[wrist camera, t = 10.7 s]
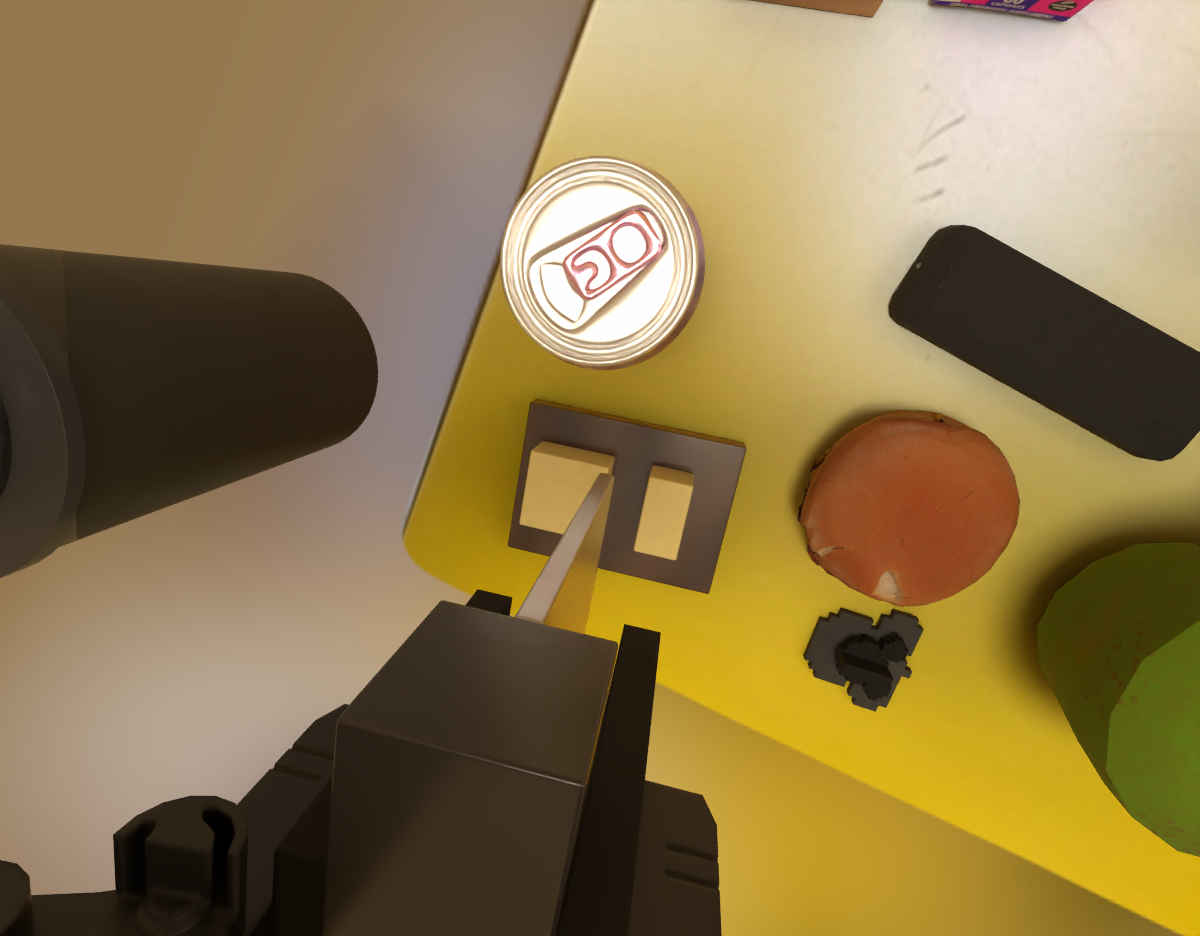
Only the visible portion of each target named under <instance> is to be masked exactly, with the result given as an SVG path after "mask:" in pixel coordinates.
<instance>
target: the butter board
mask: <svg viewBox="0 0 1200 936" xmlns="http://www.w3.org/2000/svg"><path fill="white" fill-rule="evenodd" d="M542 441H546V442H551V443H555V444H560V445H564V446H569V447H574V448H578V449H583V450H587V451H592V452H596V453H601V454H606V455H610V456H614V457H615V461H614V466H613V471H612V475H614V476H615V479H614V484H613V489H612V495H611V500H610V505H609V510H608V515H607V521H606V526H605V531H604V536H603V541H602V547H601V552H600V557H599V562H598V568H601V569H605V570H609V571H613V572H618V573H622V574H626V575H630V576H634V577H639V578H643V579H647V580H651V581H655V582H660V583H664V584H668V585H672V586H677V587H681V588H685V589H689V590H693V591H698V592H702V593H706V594H709V592H710V588H711V584H712V580H713V576H714V572H715V568H716V564H717V561H718V557H719V553H720V549H721V545H722V541H723V537H724V533H725V530H726V526H727V522H728V518H729V514H730V510H731V506H732V502H733V499H734V495H735V491H736V487H737V483H738V479H739V475H740V471H741V468H742V464H743V460H744V456H745V452H746V446H745V444H744V443H741V442H736V441H731V440H727V439H722V438H717V437H712V436H708V435H703V434H698V433H694V432H689V431H684V430H679V429H675V428H670V427H665V426H661V425H656V424H651V423H647V422H642V421H637V420H632V419H628V418H623V417H618V416H614V415H609V414H604V413H599V412H595V411H590V410H585V409H581V408H576V407H571V406H566V405H562V404H557V403H552V402H548V401H543V400H538V399H535V400H534V401H532V402H530V407H529V414H528V420H527V426H526V433H525V439H524V446H523V452H522V458H521V465H520V471H519V477H518V484H517V490H516V497H515V503H514V509H513V516H512V522H511V529H510V535H509V541H508V547H512V548H516V549H520V550H525V551H529V552H533V553H537V554H542V555H546V556H551V555H552V553H553V551H554V550H555V548H556V546H557V544H558V543H559V541H560V539H561V538H562V536H563V534H559V533H555V532H551V531H547V530H542V529H538V528H534V527H529V526H525V525H521V524H520V523H519V522H520V516H521V510H522V504H523V497H524V491H525V485H526V479H527V472H528V466H529V460H530V454H531V451H532V450H533V449H534V448H535V447H536V446H538V445H539V444H540V443H541V442H542ZM653 465H656V466H660V467H665V468H670V469H674V470H679V471H683V472H688V473H692V474H693V475H694V479H693V491H692V496H691V500H690V504H689V508H688V512H687V517H686V521H685V525H684V529H683V533H682V538H681V542H680V546H679V550H678V554H677V559H676V560H671V559H667V558H663V557H658V556H654V555H650V554H645V553H641V552H637V551H634V545H635V540H636V535H637V531H638V526H639V522H640V517H641V512H642V508H643V503H644V498H645V494H646V489H647V485H648V480H649V476H650V472H651V469H652V466H653Z"/></svg>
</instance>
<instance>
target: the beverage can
mask: <svg viewBox="0 0 1200 936" xmlns="http://www.w3.org/2000/svg"><path fill="white" fill-rule="evenodd" d="M500 272H501V280H502V285H503V289H504V293H505V296H506V299H507V302H508V304H509V307H510V309H511V311H512V313H513V315H514V317H515V318H516V320H517V322H518V323H519V324H520V326H521V327H522V329H523V330H524V331H525V332H526V333H527V335H528V336H529V337H530V338H531V339H532V340H533V341H534V342H536V343H537V344H538V345H539V346H540V347H542V348H543V349H544V350H546V351H547V352H549V353H550V354H552V355H553V356H555V357H557V358H558V359H560V360H562V361H564V362H567V363H569V364H572V365H575V366H578V367H582V368H587V369H594V370H613V369H620V368H625V367H629V366H632V365H635V364H638V363H641V362H643V361H645V360H647V359H649V358H651V357H653V356H654V355H656V354H657V353H659V352H660V351H662V350H663V349H664V348H665V347H667V346H668V345H669V344H670V343H671V342H672V341H673V340H674V339H675V338H676V337H677V336H678V335H679V334H680V332H681V331H682V330H683V328H684V327H685V326H686V324H687V323H688V321H689V320H690V318H691V316H692V315H693V313H694V311H695V308H696V306H697V303H698V300H699V297H700V294H701V290H702V286H703V281H704V273H705V253H704V245H703V239H702V235H701V231H700V228H699V225H698V222H697V220H696V218H695V215H694V213H693V211H692V209H691V208H690V206H689V204H688V203H687V201H686V200H685V198H684V197H683V196H682V194H681V193H680V192H679V191H678V190H677V189H676V188H675V187H674V186H673V185H672V184H671V183H670V182H669V181H668V180H667V179H666V178H664V177H663V176H662V175H660V174H659V173H657V172H656V171H654V170H652V169H650V168H648V167H646V166H644V165H642V164H639V163H636V162H633V161H630V160H626V159H622V158H618V157H611V156H590V157H583V158H578V159H574V160H571V161H568V162H566V163H563V164H561V165H559V166H557V167H555V168H553V169H551V170H550V171H548V172H547V173H545V174H544V175H542V176H541V177H540V178H539V179H537V180H536V181H535V182H534V183H533V184H532V185H531V186H530V187H529V188H528V189H527V190H526V191H525V193H524V194H523V195H522V197H521V198H520V199H519V201H518V202H517V204H516V206H515V207H514V209H513V211H512V213H511V215H510V217H509V220H508V222H507V225H506V228H505V231H504V235H503V239H502V244H501V252H500Z"/></svg>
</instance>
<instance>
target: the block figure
mask: <svg viewBox="0 0 1200 936" xmlns="http://www.w3.org/2000/svg"><path fill="white" fill-rule="evenodd" d="M918 621H919V620H918V618H917V617H916V616H913V615H910V614H907V613H904V612H900V611H897V610H894V609H893V610H892V612H891V614H890V616H889V615H885V614H882V615H881V617H880V619H879V621H878V623H877V626H876V627H875V626H872V624H873V620H872V618H871V617H868V616H864V615H861V614H858V613H855V612H852V611H849V610H845V609H842V608H840V611H839V613H838V615H837V614H834V613H831V612H830V614H829V616H828V619H826V618H823V617H819V620H818V622H817V624H816V627H815V629H814V631H813V634H812V636H811V639H810V641H809V643H808V646H807V648H806V650H805V653H804V655H803V656H804V659H805V660H808V661H809V663H808V665H809V668H810V669H813V670H814V671H813V675H814V677H816V678H819V679H822V680H825V681H828V682H831V683H834V684H837V685H840V686H843V687H844V686H845V683H846V681H849V682H851V683H850V685H849V687H848V689H847V693H848V695H849V696H852V699H851V700H852V703H853V704H854V705H857V706H860V707H863V708H866V709H869V710H872V711H875V712H876V710H877V707H878V705H879V706H882V707H885V708H886V707H887V705H888V703H889V701H890V699H891V696H892V694H893V692H894V690H895V688H896V686H897V684H898V682H899V680H900V678H901V676H903V677H906V678H909V677H910V675H911V673H912V671H911V669H910V668H909V667H906V665H907V661H906V660H905V658H906V656H907V655H908V656H911V655H912V653H913V651H914V649H915V646H916V644H917V642H918V640H919V638H920V636H921V634H922V632H923V630H924V629H923V628H922V627H921V626H920V625H917V623H918Z"/></svg>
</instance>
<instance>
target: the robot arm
mask: <svg viewBox="0 0 1200 936" xmlns="http://www.w3.org/2000/svg"><path fill="white" fill-rule="evenodd" d="M10 460H11V440H10V432H9V426H8V421H7V417H6V413H5V410H4V406H3V404H2V401H1V398H0V496H1V494H2V492H3V490H4V487H5V485H6V482H7V478H8V474H9V469H10ZM511 603H512V597H508V596H504V595H500V594H495V593H491V592H487V591H483V590H477V591H476V592H475V594H474V595H473V596H472V597H471V599H470V600H469V601H468V603H467V604H466V605H465V606H469V607H473V608H477V609H481V610H486V611H490V612H494V613H498V614H502V615H506V616H510V609H511ZM660 634H661V633H660V632H656V631H652V630H647V629H643V628H639V627H635V626H630V625H626V624H624V628H623V633H622V637H621V641H620V646H619V650H618V655H617V659H616V664H615V668H614V673H613V677H612V681H611V686H610V690H609V694H608V699H607V703H606V708H605V712H604V717H603V721H602V726H601V731H600V736H599V740H598V745H597V750H596V755H595V759H594V764H593V769H592V774H591V779H590V783H589V788H588V792H587V796H586V801H585V805H584V810H583V814H582V819H581V823H580V828H579V832H578V837H577V841H576V846H575V850H574V855H573V859H572V864H571V868H570V873H569V877H568V882H567V886H566V891H565V895H564V899H563V904H562V908H561V913H560V917H559V922H558V926H557V931H556V936H721V916H720V915H721V914H720V892H719V890H718V887H719V868H718V863H717V860H718V859H717V858H718V843H717V825H716V823H715V821H714V818H713V816H712V814H711V812H710V810H709V808H708V806H707V804H706V802H705V800H704V797H703V795H700V794H696V793H692V792H688V791H684V790H681V789H677V788H672V787H669V786H665V785H661V784H657V783H654V782H650V781H646V780H645V773H646V764H647V755H648V745H649V736H650V726H651V717H652V708H653V699H654V690H655V681H656V671H657V662H658V653H659V643H660ZM348 706H349V705H347V704H344V705H342V706H340V707H339V708H337V709H335V710H333V711H331V712H330V713H328V714H326V715H324V716H323V717H321V718H319V719H317V720H315V721H314V722H313V723H312V724H311V726H310V727H309V728H308V729H307V730H306V731H305V732H304V733H303V734H302V735H301V736H300V737H299V738H298V740H297V741H296V742H295V743H294V744H293V747H292V749H288V751H286V753H285V754H284V755H283V756H282V757H281V758H280V759H279V760H278V761H277V762H276V763H275V766H274V768H273V769H270V770H269V771H268V772H267V773H266V774H265V775H264V776H263V777H262V779H261V780H260V781H259V782H258V783H257V784H256V785H255V786H254V787H253V788H252V789H251V790H250V791H249V792H248V793H247V795H246V796H245V797H244V798H243V799H242V800H241V801H240V802H239V803H238V804H237V805H236V804H235V803H233V802H231V801H228V800H225V799H222V798H220V797H217V796H188V797H184V798H180V799H176V800H172V801H168V802H163V803H161V804H159V805H157V806H155V807H153V808H151V809H149V810H147V811H145V812H143V813H141V814H139V815H137V816H136V817H134V818H133V819H132V820H131V821H129V822H128V823H127V824H126V825H124V826H123V827H122V828H121V829H120V830H118V831H117V832H116V833H115V834H114V835H113V840H114V862H115V883H116V890H112V891H105V892H96V893H73V894H51V895H31V889H30V878H29V875H28V874H27V873H26V872H25V871H24V870H23V869H22V868H21V867H20V866H19V865H18V864H16V863H11V862H7V861H1V860H0V936H321V930H322V916H323V903H324V889H325V875H326V862H327V848H328V834H329V820H330V807H331V793H332V779H333V765H334V752H335V738H336V724H337V719H338V718H339V716H340V715H341V714H342V713H343V712H344V710H345V709H346V708H347V707H348Z"/></svg>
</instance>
